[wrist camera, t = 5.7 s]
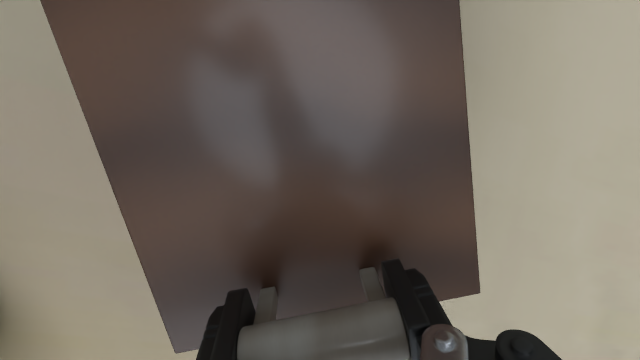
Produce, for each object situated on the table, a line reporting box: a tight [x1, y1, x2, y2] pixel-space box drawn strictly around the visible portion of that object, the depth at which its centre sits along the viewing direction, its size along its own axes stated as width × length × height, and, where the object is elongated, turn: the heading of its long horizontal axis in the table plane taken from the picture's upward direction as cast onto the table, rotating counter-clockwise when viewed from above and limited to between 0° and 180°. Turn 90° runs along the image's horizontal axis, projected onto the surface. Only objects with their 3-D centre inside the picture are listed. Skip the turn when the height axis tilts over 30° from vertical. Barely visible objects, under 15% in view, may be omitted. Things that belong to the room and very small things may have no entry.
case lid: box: [40, 0, 480, 360], centre depth 11 cm, size 17×15×5 cm
